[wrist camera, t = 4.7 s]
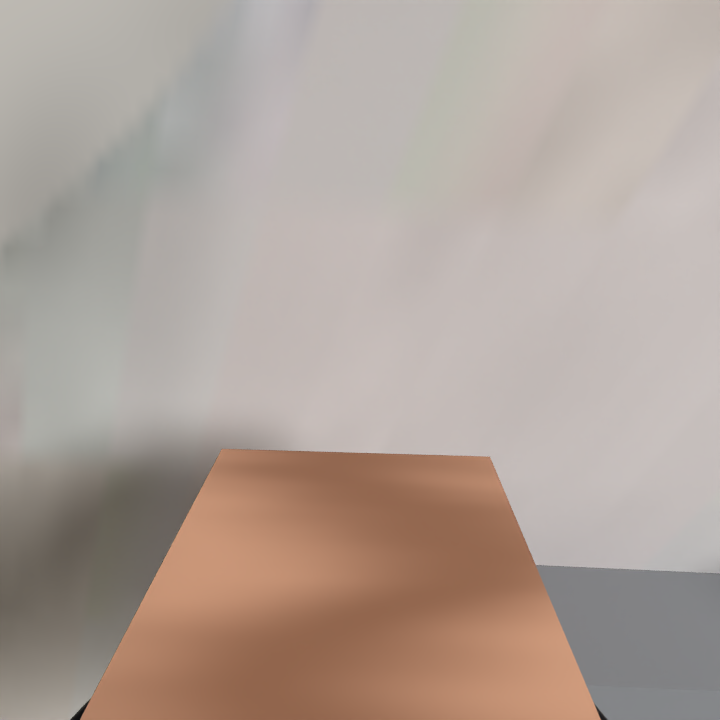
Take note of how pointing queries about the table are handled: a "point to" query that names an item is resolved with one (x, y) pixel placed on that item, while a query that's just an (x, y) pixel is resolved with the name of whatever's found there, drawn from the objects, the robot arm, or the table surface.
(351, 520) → the terracotta cube
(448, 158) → the table surface
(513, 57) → the table surface
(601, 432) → the table surface
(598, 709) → the robot arm
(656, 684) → the gray block
